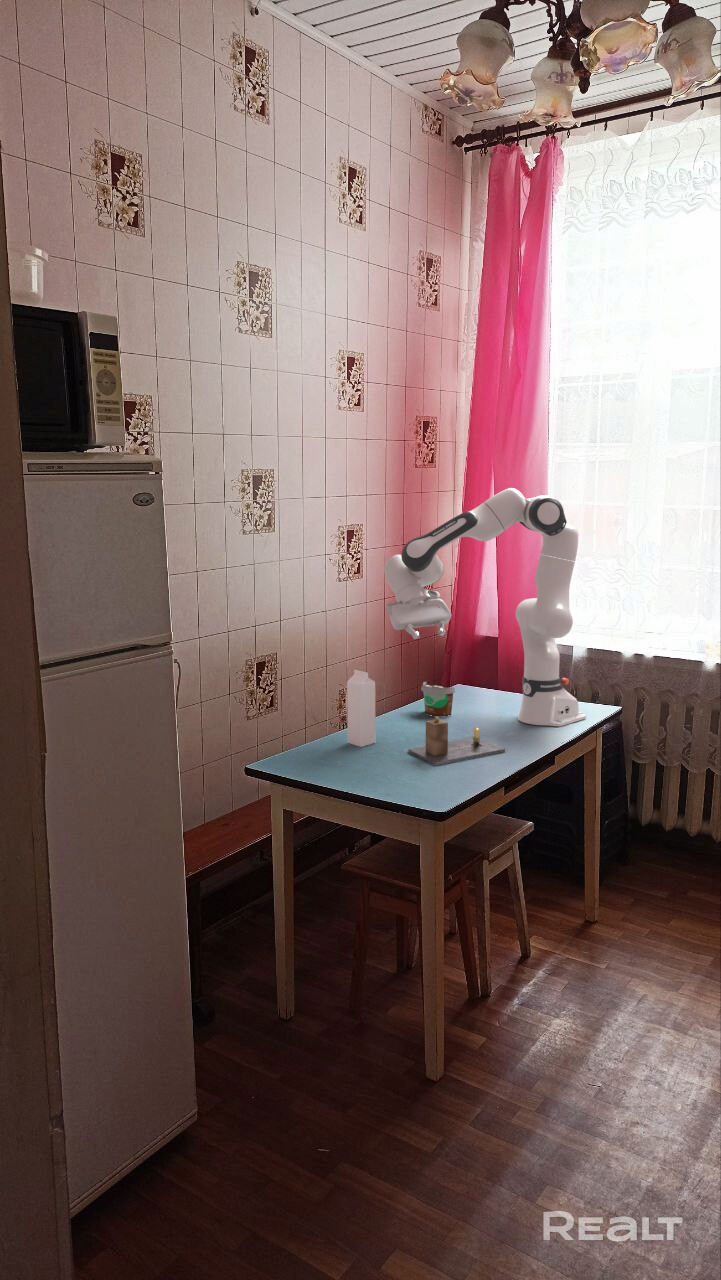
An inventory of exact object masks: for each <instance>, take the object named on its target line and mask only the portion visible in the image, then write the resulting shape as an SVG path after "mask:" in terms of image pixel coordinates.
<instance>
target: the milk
mask: <svg viewBox="0 0 721 1280" xmlns="http://www.w3.org/2000/svg"><path fill="white" fill-rule="evenodd" d="M346 695H347V696H346V698H347V700H346V703H347V706H346V711H347V716H346V717H347V718H346V719H347V743H348V744H351V745H354V746H357V747H360V748H362V747H366V745H367V746H369V745H373V743H374V744H376V740H377V739H376V681H375V680H373V679H372V678H370V677H369V673H368V671H367V672H366V671H362V670H359V669H354V670H353V675H352V676H351V677H350V678H349V679H348V680H347V681H346Z"/></svg>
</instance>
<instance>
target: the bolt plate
mask: <svg viewBox="0 0 721 1280" xmlns="http://www.w3.org/2000/svg"><path fill="white" fill-rule="evenodd" d="M480 731H481V728H480V727H474V728H473V732H472V733H473V737H467V738H462V739H461V738H460V739H456V740H449V741H448V753H447V754H442V755H436V756H434V755H432V754H430V753H427V752H426V745H424V746H423V745H422V746H418V747H413V748H408V749H407V750H408V752H407V753H408V754H410V755H413V756H414V757H416V758H418V759H421V760H422V761H425V762H427V763H428V764H430V765H433V766H434V767H438V766H443V765H447V763H448V764H452V762H453V763H457V761H458V762H462V760H463V761H467V760H466V759H468V760H472V759H471V758H473V759H477V757H478V758H482V757H488V756H492V755H497V754H502V753H505V752H506V748H504V747H501V746H499V745H497V744H495V743H492V742H490V741H487V740H485V739H482V738H480V736H481V734H480V733H481V732H480ZM487 755H488V756H487ZM442 764H443V765H442ZM437 765H438V766H437Z"/></svg>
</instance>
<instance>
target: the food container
mask: <svg viewBox="0 0 721 1280" xmlns="http://www.w3.org/2000/svg"><path fill="white" fill-rule="evenodd" d="M455 689H456V688H455V687H454V686H450V687H449V686H448V687H445V686H442V685H438V684H437V685H435V684H427V681H423V683H422V685H421V691H422V692H423V701H424V713H426V714H428V715H427V716H429V715H432V716H431V717H434V716H446V717H449V716H448V715H450V716H452V709H453V700H454V694H455V693H456V690H455Z"/></svg>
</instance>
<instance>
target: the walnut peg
mask: <svg viewBox="0 0 721 1280" xmlns="http://www.w3.org/2000/svg"><path fill="white" fill-rule="evenodd" d="M448 742H449V722H448V721H445V720H443V719H440V717H434V719H430V720H426V721H425V746H426V752H427V753H430V754H432V755H434V756H436V755H442V754H447V753H448Z"/></svg>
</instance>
